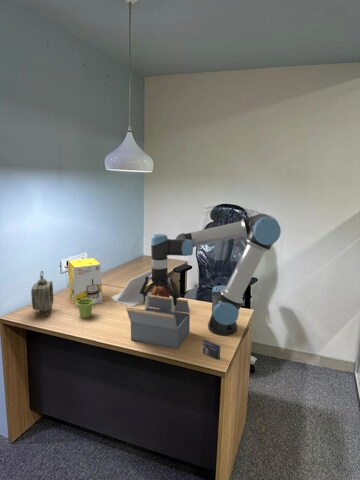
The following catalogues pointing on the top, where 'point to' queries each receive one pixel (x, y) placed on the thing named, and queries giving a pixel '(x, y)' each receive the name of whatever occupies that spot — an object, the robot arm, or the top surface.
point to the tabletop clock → (42, 295)
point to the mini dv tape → (211, 349)
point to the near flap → (152, 318)
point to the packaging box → (85, 280)
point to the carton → (162, 331)
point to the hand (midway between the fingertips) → (160, 309)
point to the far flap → (168, 303)
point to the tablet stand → (132, 291)
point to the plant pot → (85, 307)
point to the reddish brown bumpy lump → (160, 292)
